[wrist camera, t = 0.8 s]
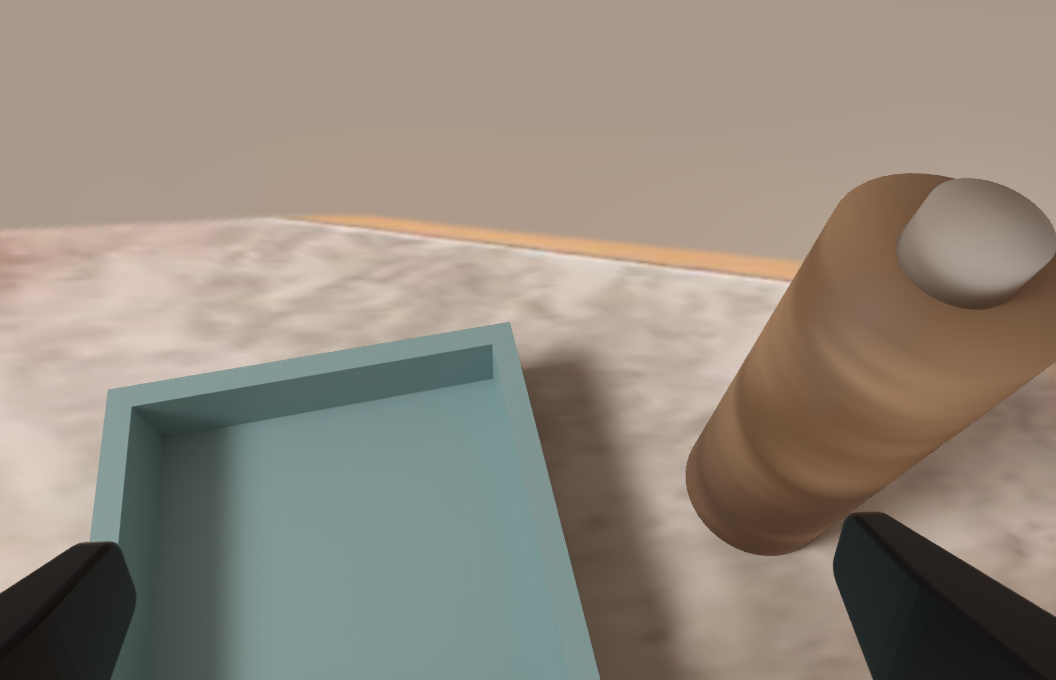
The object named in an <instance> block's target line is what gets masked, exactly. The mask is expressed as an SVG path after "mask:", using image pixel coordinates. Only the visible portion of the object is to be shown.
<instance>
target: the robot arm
mask: <svg viewBox="0 0 1056 680" xmlns="http://www.w3.org/2000/svg"><path fill="white" fill-rule="evenodd" d="M833 572H834V577H835V580H836V583H837V586H838V589H839V591H840V594H841V597H842V599H843V602H844V605H845V607H846V610H847V612H848V615H849V618H850V620H851V623H852V626H853V628H854V631H855V634H856V636H857V639H858V642H859V644H860V647H861V650H862V652H863V655H864V657H865V660H866V663H867V665H868V668H869V671H870V673H871V676H872V678H873V680H1056V617H1055V616H1053V615H1052V614H1050V613H1049V612H1047V611H1045V610H1044V609H1042V608H1040V607H1039V606H1037V605H1035V604H1034V603H1032V602H1030V601H1029V600H1027V599H1025V598H1024V597H1022V596H1020V595H1019V594H1017V593H1015V592H1014V591H1012V590H1011V589H1009V588H1007V587H1006V586H1004V585H1002V584H1001V583H999V582H997V581H996V580H994V579H992V578H991V577H989V576H987V575H986V574H984V573H982V572H981V571H979V570H977V569H976V568H974V567H973V566H971V565H969V564H968V563H966V562H964V561H963V560H961V559H959V558H958V557H956V556H954V555H953V554H951V553H949V552H948V551H946V550H944V549H943V548H941V547H940V546H938V545H936V544H935V543H933V542H931V541H930V540H928V539H926V538H925V537H923V536H921V535H920V534H918V533H916V532H915V531H913V530H911V529H910V528H908V527H906V526H905V525H903V524H902V523H900V522H898V521H897V520H895V519H893V518H892V517H890V516H888V515H886V514H884V513H881V512H857V513H851V514H849V515H848V516H847V517H846V518H845V521H844V523H843V527H842V530H841V534H840V538H839V541H838V545H837V549H836V552H835V556H834V560H833ZM136 601H137V594H136V588H135V585H134V582H133V580H132V577H131V574H130V571H129V568H128V566H127V563H126V560H125V557H124V554H123V552H122V549H121V547H120V546H119V545H118V544H117V543H115V542H111V541H100V542H83V543H78V544H76V545H74V546H72V547H71V548H69V549H68V550H66V551H65V552H63V553H61V554H60V555H58V556H57V557H55V558H54V559H52V560H51V561H49V562H48V563H46V564H45V565H43V566H42V567H40V568H38V569H37V570H35V571H34V572H32V573H31V574H29V575H28V576H26V577H25V578H23V579H22V580H20V581H19V582H17V583H16V584H14V585H12V586H11V587H9V588H8V589H6V590H5V591H3V592H2V593H0V680H111V678H112V675H113V672H114V669H115V666H116V664H117V661H118V658H119V655H120V652H121V649H122V646H123V643H124V641H125V638H126V635H127V632H128V629H129V626H130V623H131V620H132V618H133V615H134V611H135V608H136Z"/></svg>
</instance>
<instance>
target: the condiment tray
mask: <svg viewBox="0 0 1056 680" xmlns="http://www.w3.org/2000/svg"><path fill="white" fill-rule="evenodd" d="M100 541H111V542H115V543H117V544H118V545H119V546H120V547H121V549H122V552H123V554H124V557H125V560H126V563H127V566H128V568H129V571H130V574H131V577H132V580H133V582H134V585H135V588H136V594H137V601H136V608H135V611H134V615H133V618H132V620H131V623H130V626H129V629H128V632H127V635H126V638H125V641H124V643H123V646H122V649H121V652H120V655H119V658H118V661H117V664H116V666H115V669H114V672H113V675H112V678H111V680H600V676H599V672H598V668H597V664H596V660H595V656H594V652H593V648H592V645H591V641H590V637H589V633H588V629H587V625H586V621H585V617H584V613H583V609H582V605H581V601H580V597H579V593H578V589H577V585H576V581H575V577H574V573H573V570H572V566H571V562H570V558H569V554H568V550H567V546H566V542H565V538H564V534H563V530H562V526H561V522H560V518H559V514H558V510H557V506H556V502H555V498H554V495H553V491H552V487H551V483H550V479H549V475H548V471H547V467H546V463H545V459H544V455H543V451H542V447H541V443H540V439H539V435H538V431H537V427H536V424H535V420H534V416H533V412H532V408H531V404H530V400H529V396H528V392H527V388H526V384H525V380H524V376H523V372H522V368H521V364H520V360H519V356H518V352H517V349H516V345H515V341H514V337H513V333H512V329H511V325H510V322H507V323H501V324H495V325H489V326H483V327H477V328H471V329H465V330H459V331H453V332H447V333H441V334H435V335H430V336H424V337H418V338H412V339H406V340H400V341H394V342H388V343H382V344H376V345H370V346H364V347H358V348H353V349H347V350H341V351H335V352H329V353H323V354H317V355H311V356H305V357H299V358H293V359H287V360H281V361H275V362H270V363H264V364H258V365H252V366H246V367H240V368H234V369H228V370H222V371H216V372H210V373H204V374H198V375H193V376H187V377H181V378H175V379H169V380H163V381H157V382H151V383H145V384H139V385H133V386H127V387H121V388H116V389H110V390H108V394H107V402H106V411H105V419H104V427H103V435H102V444H101V452H100V460H99V469H98V477H97V485H96V494H95V502H94V510H93V518H92V527H91V535H90V542H100Z"/></svg>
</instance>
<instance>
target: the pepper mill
mask: <svg viewBox="0 0 1056 680" xmlns="http://www.w3.org/2000/svg"><path fill="white" fill-rule="evenodd" d="M1055 362H1056V233H1055V230H1054V228H1053V226H1052V224H1051V222H1050V220H1049V219H1048V218H1047V216H1046V215H1045V214H1044V213H1043V212H1042V211H1041V210H1040V209H1039V208H1038V207H1037V206H1036V205H1035V204H1034V203H1033V202H1031V201H1030V200H1029V199H1027V198H1026V197H1024V196H1023V195H1021V194H1020V193H1018V192H1016V191H1014V190H1012V189H1010V188H1008V187H1005V186H1003V185H1000V184H997V183H994V182H990V181H986V180H981V179H973V178H963V179H962V178H961V179H954V178H949V177H944V176H939V175H930V174H916V173H915V174H914V173H908V174H894V175H889V176H884V177H880V178H876V179H873V180H870V181H868V182H866V183H864V184H862V185H860V186H858V187H856V188H855V189H853V190H852V191H850V192H849V193H848V194H847V195H846V196H845V197H844V198H843V199H842V200H841V201H840V203H839V204H838V205H837V207H836V208H835V210H834V212H833V213H832V215H831V217H830V218H829V220H828V222H827V223H826V225H825V227H824V228H823V230H822V232H821V234H820V235H819V237H818V238H817V240H816V242H815V243H814V245H813V247H812V249H811V250H810V252H809V254H808V255H807V257H806V259H805V260H804V262H803V264H802V265H801V267H800V269H799V270H798V272H797V274H796V275H795V277H794V279H793V280H792V282H791V284H790V285H789V287H788V289H787V290H786V292H785V294H784V296H783V297H782V299H781V301H780V302H779V304H778V306H777V307H776V309H775V311H774V312H773V314H772V316H771V317H770V319H769V321H768V322H767V324H766V326H765V327H764V329H763V331H762V332H761V334H760V336H759V337H758V339H757V341H756V343H755V344H754V346H753V348H752V349H751V351H750V353H749V354H748V356H747V358H746V359H745V361H744V363H743V364H742V366H741V368H740V369H739V371H738V373H737V374H736V376H735V378H734V379H733V381H732V383H731V384H730V386H729V388H728V390H727V391H726V393H725V395H724V396H723V398H722V400H721V401H720V403H719V405H718V406H717V408H716V410H715V411H714V413H713V415H712V416H711V418H710V420H709V421H708V423H707V425H706V426H705V428H704V430H703V432H702V433H701V435H700V437H699V438H698V440H697V442H696V443H695V445H694V447H693V448H692V451H691V453H690V455H689V458H688V461H687V467H686V485H687V490H688V494H689V498H690V500H691V502H692V505H693V507H694V509H695V511H696V512H697V514H698V516H699V517H700V518H701V520H702V521H703V523H704V524H705V525H706V526H707V527H708V528H709V529H710V530H711V531H712V532H713V533H714V534H715V535H716V536H718V537H719V538H720V539H722V540H723V541H725V542H726V543H728V544H729V545H731V546H733V547H735V548H737V549H740V550H742V551H745V552H748V553H752V554H756V555H763V556H776V555H784V554H787V553H791V552H794V551H796V550H798V549H800V548H802V547H803V546H805V545H806V544H808V543H809V542H810V541H812V540H813V539H814V538H816V537H817V536H818V535H820V534H821V533H823V532H824V531H825V530H827V529H828V528H829V527H831V526H832V525H834V524H835V523H836V522H838V521H839V520H840V519H842V518H843V517H844V516H846V515H847V514H849V513H850V512H851V511H853V510H854V509H855V508H857V507H858V506H859V505H861V504H862V503H864V502H865V501H866V500H868V499H869V498H870V497H872V496H873V495H874V494H876V493H877V492H879V491H880V490H881V489H883V488H884V487H885V486H887V485H888V484H889V483H891V482H892V481H894V480H895V479H896V478H898V477H899V476H900V475H902V474H903V473H904V472H906V471H907V470H909V469H910V468H911V467H913V466H914V465H915V464H917V463H918V462H919V461H921V460H922V459H924V458H925V457H926V456H928V455H929V454H930V453H932V452H933V451H935V450H936V449H937V448H939V447H940V446H941V445H943V444H944V443H945V442H947V441H948V440H950V439H951V438H952V437H954V436H955V435H956V434H958V433H959V432H960V431H962V430H963V429H965V428H966V427H967V426H969V425H970V424H971V423H973V422H974V421H975V420H977V419H978V418H980V417H981V416H982V415H984V414H985V413H986V412H988V411H989V410H990V409H992V408H993V407H995V406H996V405H997V404H999V403H1000V402H1001V401H1003V400H1004V399H1005V398H1007V397H1008V396H1010V395H1011V394H1012V393H1014V392H1015V391H1016V390H1018V389H1019V388H1020V387H1022V386H1023V385H1025V384H1026V383H1027V382H1029V381H1030V380H1031V379H1033V378H1034V377H1036V376H1037V375H1038V374H1040V373H1041V372H1042V371H1044V370H1045V369H1046V368H1048V367H1049V366H1051V365H1052V364H1053V363H1055Z"/></svg>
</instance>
